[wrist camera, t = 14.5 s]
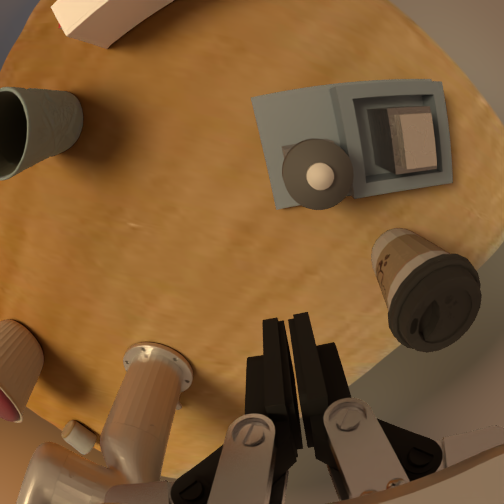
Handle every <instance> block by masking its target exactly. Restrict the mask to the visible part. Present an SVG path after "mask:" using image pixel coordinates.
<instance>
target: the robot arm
mask: <svg viewBox="0 0 504 504" xmlns="http://www.w3.org/2000/svg"><path fill="white" fill-rule="evenodd" d="M293 316H294V319H289V320H288V322H289V328H290V335H291V342H292V349H293V356H294V363H295V371H296V378H297V385H298V393H299V400H300V406H301V412H302V417H303V423H304V429H305V434H306V440H307V446H308V448H309V447H314V450H315V456H316V459H318V460H320V461H322V462H324V463H325V464H327V468H328V471H329V473H330V476H331V479H332V482H333V485H334V488H335V490H336V493H337V496H338V499H339V501H338V502H333V503H328V504H504V428H503V427H500V426H497V425H496V426H489V427H486V428H482V429H478V430H474V431H470V432H466V433H461V434H456V435H451V436H446V437H443V439H442V440H437V441H434V440H432V439H430V438H427V437H424V436H421V435H418V434H415V433H413V432H410V431H408V430H405V429H402V428H400V427H397V426H394V425H392V424H389V423H387V422H384V421H382V420H379V419H377V418H376V417H375V415H374V413H373V411H372V410H371V408H370V406H369V405H368V404H367V403H366V402H364V401H362V400H360V399H357V398H351V395H350V391H349V388H348V384H347V381H346V378H345V374H344V371H343V368H342V364H341V361H340V358H339V355H338V351H337V348H336V345H335V343H334V342H333V343H328V344H323V345H318V346H316V344H315V339H314V335H313V331H312V327H311V323H310V319H309V315H308V312H305V313H300V314H294V315H293ZM123 363H124V367H125V369H126V371H127V373H126V375H125V377H124V380H123V382H122V384H121V387H120V389H119V391H118V394H117V396H116V398H115V401H114V403H113V405H112V408H111V410H110V413H109V415H108V418H107V420H106V423H105V425H104V427H103V430H102V433H101V436H100V447H101V451H102V454H103V457H104V459H105V462H106V464H107V466H108V468H106V467H103V466H101V465H98V464H96V463H94V462H92V461H90V460H88V459H86V458H84V457H82V456H80V455H78V454H76V453H74V452H72V451H70V450H68V449H66V448H65V447H63V446H61V445H58V444H56V443H53V442H44V443H42V444H41V445H39V446H38V447H37V449H36V451H35V452H34V454H33V456H32V458H31V460H30V462H29V465H28V468H27V471H26V474H25V477H24V480H23V483H22V486H21V489H20V493H19V496H18V500H17V503H16V504H285V498H286V490H287V482H288V474H289V471H288V469H289V468H290V467H291V466H292V465H293V464H294V463H295V462H296V457H298V454H297V449H303V445H302V436H301V427H300V419H299V410H298V402H297V394H296V386H295V378H294V372H293V366H292V361H291V356H290V350H289V345H288V340H287V335H286V330H285V325H284V320H283V321H278V318H272V319H266V320H263V355H261V356H254V357H248V358H247V368H246V395H245V415H244V416H241V417H239V418H238V419H236V420H234V421H233V423H232V424H231V425H230V426H229V428H228V430H227V434H226V437H225V441H224V444H223V445H222V446H221V447H220V448H218V449H217V450H216V451H215V452H213V453H212V454H211V455H209V456H208V457H207V458H205V459H204V460H203V461H202V462H200V463H199V464H198V465H196V466H195V467H193V468H192V469H191V470H189V471H188V472H187V473H185V474H184V475H182V476H181V477H180V478H178V479H177V480H176V481H175V482H168V481H167V480H165V481H160V476H161V470H162V465H163V460H164V456H165V452H166V447H167V443H168V439H169V435H170V430H171V426H172V422H173V418H174V414H175V410H176V409H177V410H179V409H181V408H182V405H181V403H180V402H179V397H180V393H181V392H183V391H185V390H187V389H188V388H189V387H190V385H191V383H192V380H193V371H192V368H191V366H190V364H189V363H188V361H187V360H186V359H185V358H184V357H183V356H182V355H181V354H179V353H178V352H176V351H175V350H173V349H171V348H169V347H167V346H164V345H161V344H157V343H151V342H141V343H137V344H134V345H132V346H131V347H130V348H128V350H127V351H126V353H125V355H124V359H123Z"/></svg>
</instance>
